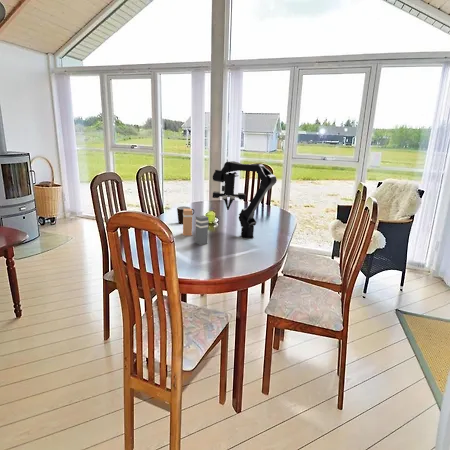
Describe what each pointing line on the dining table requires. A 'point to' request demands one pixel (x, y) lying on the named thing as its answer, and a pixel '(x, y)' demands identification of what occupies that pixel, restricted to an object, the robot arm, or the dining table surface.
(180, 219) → the coffee mug
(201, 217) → the post two bands
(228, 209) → the robot arm
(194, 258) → the dining table surface
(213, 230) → the dining table surface
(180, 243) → the dining table surface
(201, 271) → the dining table surface
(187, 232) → the post one band
